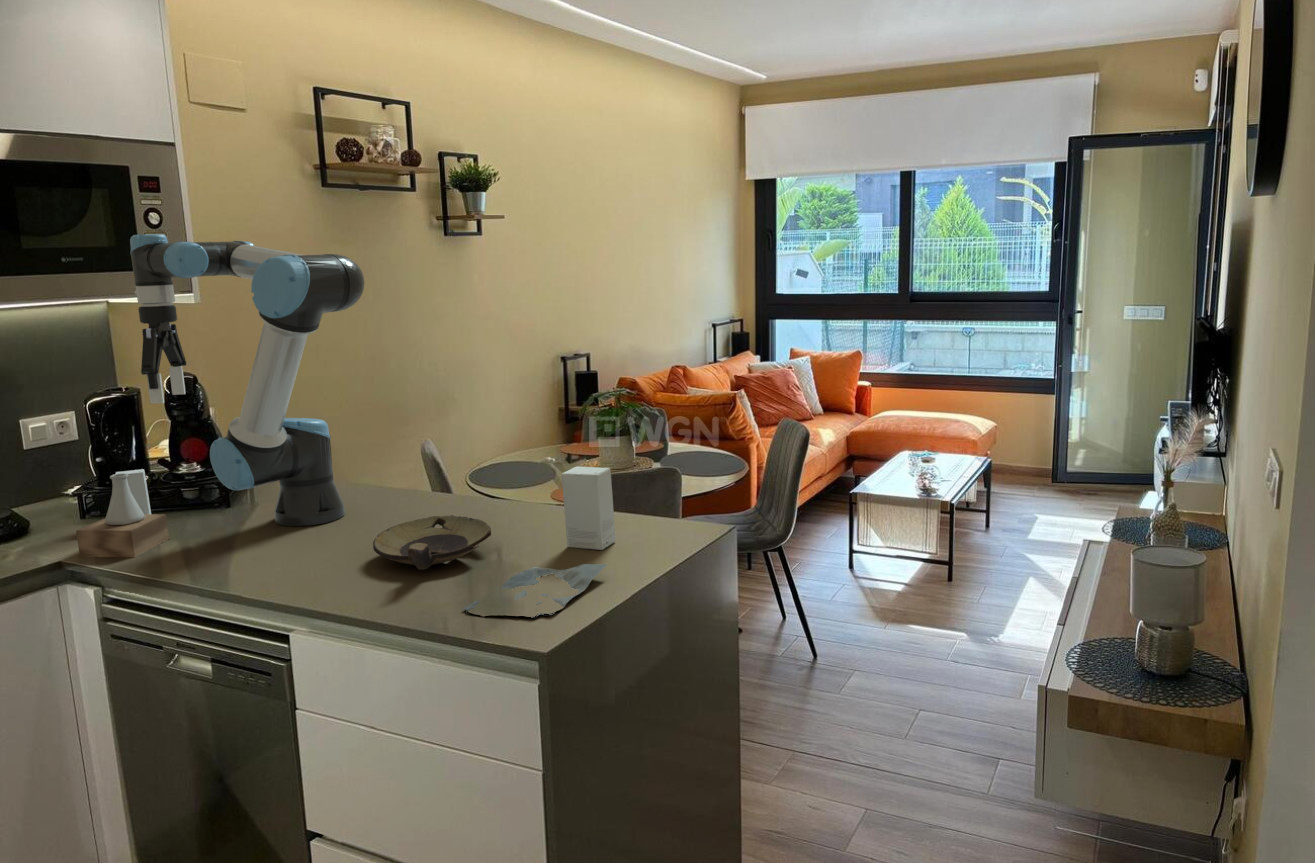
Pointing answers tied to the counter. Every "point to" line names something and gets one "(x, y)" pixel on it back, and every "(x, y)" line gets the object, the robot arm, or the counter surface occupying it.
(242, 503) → the counter surface
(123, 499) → the flask
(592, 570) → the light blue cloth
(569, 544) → the skincare box
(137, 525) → the walnut block
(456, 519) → the oil lamp
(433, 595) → the counter surface
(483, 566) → the counter surface
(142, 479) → the skincare box
